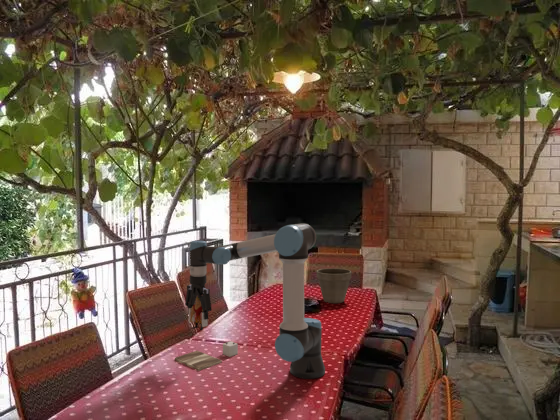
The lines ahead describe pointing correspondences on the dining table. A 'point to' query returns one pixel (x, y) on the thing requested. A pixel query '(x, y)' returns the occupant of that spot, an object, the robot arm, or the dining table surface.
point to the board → (198, 360)
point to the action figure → (197, 312)
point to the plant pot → (334, 284)
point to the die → (230, 349)
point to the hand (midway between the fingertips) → (198, 323)
